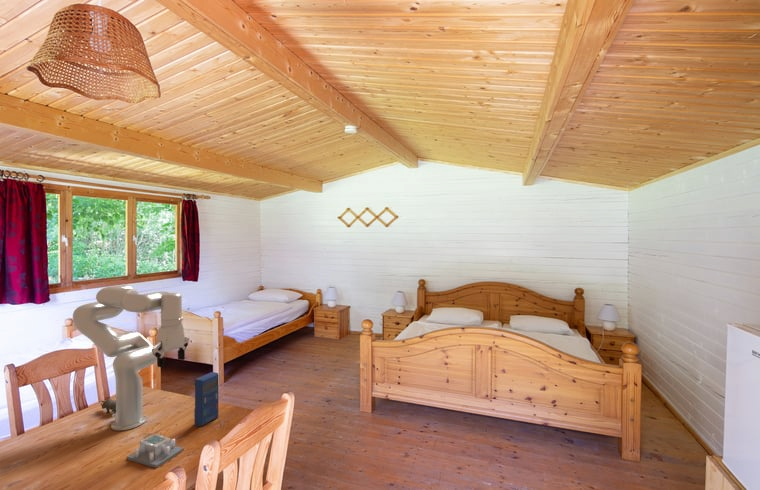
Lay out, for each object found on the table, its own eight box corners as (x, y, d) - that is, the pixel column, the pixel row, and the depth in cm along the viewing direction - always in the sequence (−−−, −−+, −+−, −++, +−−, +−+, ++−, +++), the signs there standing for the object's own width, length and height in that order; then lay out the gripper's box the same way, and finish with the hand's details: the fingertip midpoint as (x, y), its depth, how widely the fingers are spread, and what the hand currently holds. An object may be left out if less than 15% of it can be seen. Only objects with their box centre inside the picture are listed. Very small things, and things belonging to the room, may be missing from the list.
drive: (139, 453, 130) (139, 441, 130) (156, 445, 136) (156, 433, 136) (155, 459, 126) (155, 447, 126) (171, 450, 132) (171, 438, 132)
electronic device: (202, 427, 151) (202, 380, 151) (193, 424, 153) (193, 378, 153) (219, 417, 160) (219, 373, 160) (211, 415, 162) (211, 371, 161)
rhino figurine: (106, 407, 169) (106, 395, 169) (124, 412, 164) (124, 399, 164) (96, 411, 165) (96, 398, 165) (115, 416, 160) (115, 403, 160)
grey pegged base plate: (126, 459, 128) (126, 448, 128) (154, 443, 139) (154, 433, 139) (156, 468, 123) (156, 456, 123) (183, 450, 134) (183, 440, 134)
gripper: (182, 317, 158) (182, 356, 158) (145, 326, 141) (145, 369, 141) (195, 319, 155) (195, 357, 155) (159, 328, 139) (159, 371, 139)
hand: (171, 363), depth 148 cm, fingers open, 9 cm apart
